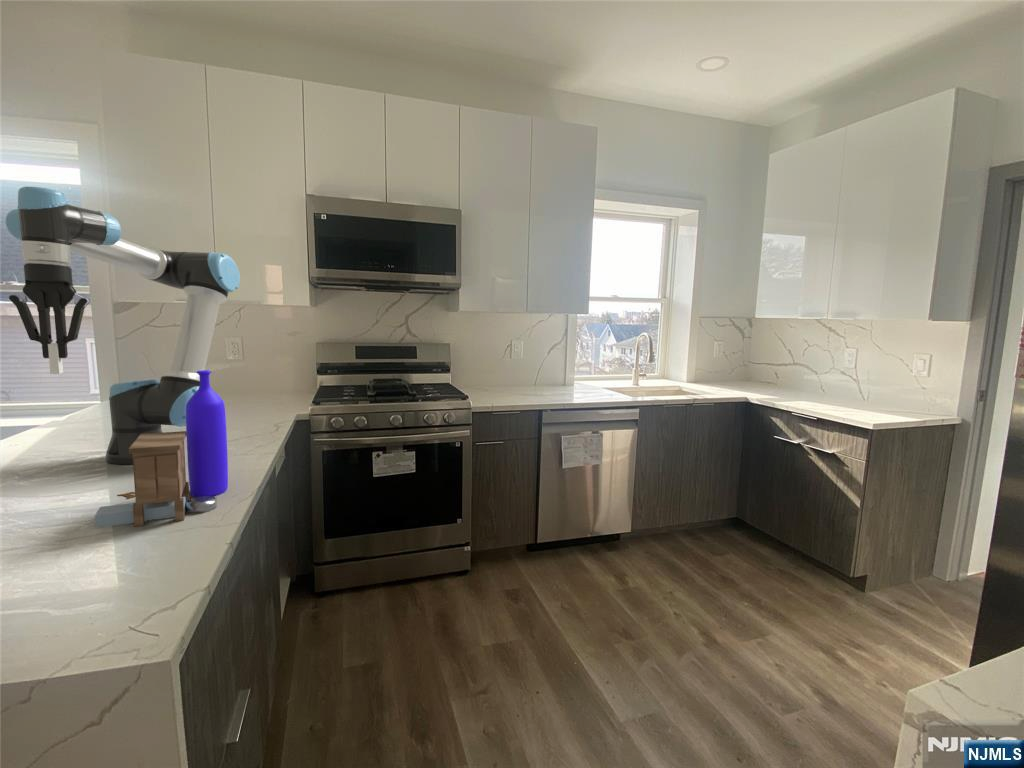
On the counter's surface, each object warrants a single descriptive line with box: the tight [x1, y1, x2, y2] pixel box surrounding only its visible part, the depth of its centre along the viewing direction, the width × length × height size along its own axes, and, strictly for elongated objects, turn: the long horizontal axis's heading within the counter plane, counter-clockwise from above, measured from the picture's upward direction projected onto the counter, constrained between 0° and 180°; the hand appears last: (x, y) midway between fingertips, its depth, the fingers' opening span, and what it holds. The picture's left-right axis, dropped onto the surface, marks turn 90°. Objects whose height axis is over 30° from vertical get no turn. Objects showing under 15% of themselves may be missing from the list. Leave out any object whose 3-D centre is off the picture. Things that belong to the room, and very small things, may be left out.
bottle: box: [185, 369, 229, 498], centre depth 120 cm, size 8×8×30 cm
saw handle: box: [116, 491, 135, 500], centre depth 126 cm, size 24×5×1 cm, turn 146°
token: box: [185, 496, 218, 515], centre depth 112 cm, size 6×6×2 cm
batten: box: [94, 497, 186, 529], centre depth 106 cm, size 5×15×3 cm, turn 120°
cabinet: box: [129, 430, 190, 528], centre depth 107 cm, size 14×8×16 cm, turn 28°
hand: (56, 373), depth 109 cm, fingers closed
